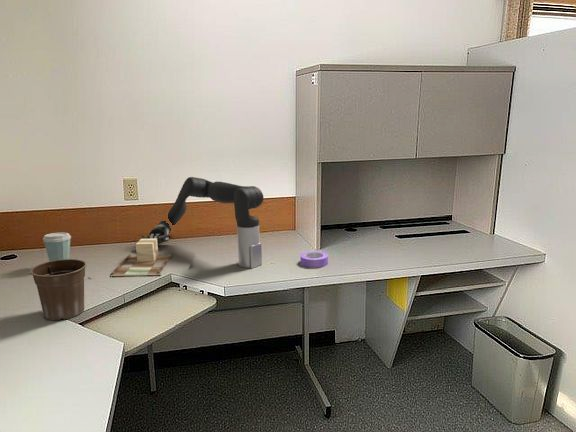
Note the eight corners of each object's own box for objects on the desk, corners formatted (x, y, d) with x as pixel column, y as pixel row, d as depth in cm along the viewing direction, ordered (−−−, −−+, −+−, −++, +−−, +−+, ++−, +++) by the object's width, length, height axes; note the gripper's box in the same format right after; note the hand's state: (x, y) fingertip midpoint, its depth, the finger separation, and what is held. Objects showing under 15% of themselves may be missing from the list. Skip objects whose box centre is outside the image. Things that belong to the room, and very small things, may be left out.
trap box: (129, 258, 206) (128, 254, 206) (172, 257, 207) (171, 253, 206) (111, 277, 184) (111, 272, 183) (160, 276, 184) (159, 271, 184)
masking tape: (305, 269, 190) (305, 260, 189) (297, 260, 201) (297, 252, 200) (332, 266, 193) (332, 257, 192) (322, 258, 204) (322, 249, 203)
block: (142, 256, 206) (140, 238, 204) (158, 255, 206) (156, 238, 204) (137, 261, 198) (135, 244, 196) (153, 261, 198) (152, 243, 197)
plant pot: (102, 305, 158) (97, 260, 154) (68, 326, 143) (61, 277, 139) (62, 300, 162) (56, 257, 159) (25, 321, 147) (18, 273, 144)
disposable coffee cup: (48, 265, 199) (43, 231, 196) (75, 262, 203) (71, 229, 200) (45, 273, 190) (40, 238, 186) (74, 269, 193) (69, 235, 190)
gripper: (145, 226, 222) (134, 236, 205) (172, 225, 222) (164, 235, 205) (146, 241, 224) (136, 252, 207) (173, 240, 224) (165, 251, 207)
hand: (150, 243), depth 206 cm, fingers closed
